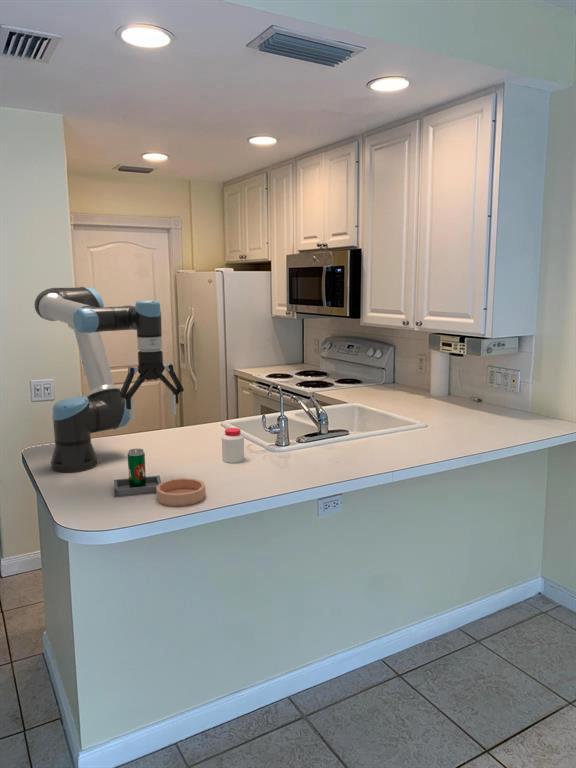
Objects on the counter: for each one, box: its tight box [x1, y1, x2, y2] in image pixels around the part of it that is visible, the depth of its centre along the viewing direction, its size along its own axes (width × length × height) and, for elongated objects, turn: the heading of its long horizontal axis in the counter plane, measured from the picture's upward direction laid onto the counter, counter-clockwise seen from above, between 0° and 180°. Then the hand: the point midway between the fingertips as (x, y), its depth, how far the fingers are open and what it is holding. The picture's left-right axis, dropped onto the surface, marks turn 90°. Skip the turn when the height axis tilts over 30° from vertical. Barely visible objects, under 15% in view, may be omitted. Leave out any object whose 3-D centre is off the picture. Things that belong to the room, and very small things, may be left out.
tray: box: [113, 475, 162, 498], centre depth 183 cm, size 14×10×2 cm
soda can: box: [127, 448, 147, 488], centre depth 182 cm, size 5×5×12 cm
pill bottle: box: [221, 427, 245, 464], centre depth 212 cm, size 8×8×11 cm
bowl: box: [155, 477, 207, 507], centre depth 176 cm, size 14×14×3 cm
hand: (153, 416), depth 190 cm, fingers open, 13 cm apart
